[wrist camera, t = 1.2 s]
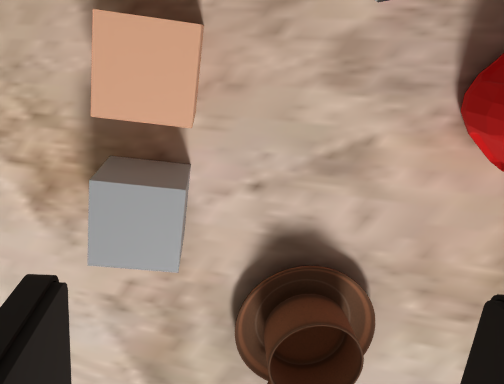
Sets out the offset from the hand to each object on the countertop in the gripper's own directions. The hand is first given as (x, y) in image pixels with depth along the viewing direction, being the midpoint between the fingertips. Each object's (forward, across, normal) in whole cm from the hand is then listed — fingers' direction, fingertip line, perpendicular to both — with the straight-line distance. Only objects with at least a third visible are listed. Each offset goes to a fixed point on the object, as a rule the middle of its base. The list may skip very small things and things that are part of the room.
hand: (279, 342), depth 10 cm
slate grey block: (+25, +6, +6) cm, 27 cm away
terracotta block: (+25, +6, -4) cm, 26 cm away
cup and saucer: (+26, -8, +16) cm, 31 cm away
